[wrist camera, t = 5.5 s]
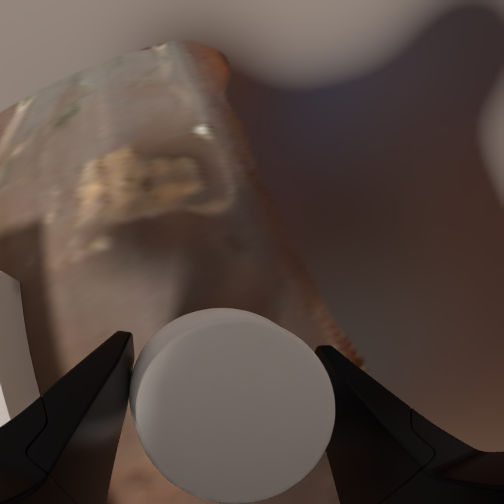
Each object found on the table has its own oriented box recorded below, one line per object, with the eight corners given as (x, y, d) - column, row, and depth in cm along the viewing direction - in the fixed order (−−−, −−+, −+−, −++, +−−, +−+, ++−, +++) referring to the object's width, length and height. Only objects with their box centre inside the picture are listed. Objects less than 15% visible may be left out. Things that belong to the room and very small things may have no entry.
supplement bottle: (256, 440, 13) (346, 523, 4) (149, 425, 13) (93, 507, 4) (269, 339, 15) (375, 301, 6) (164, 322, 15) (125, 257, 6)
